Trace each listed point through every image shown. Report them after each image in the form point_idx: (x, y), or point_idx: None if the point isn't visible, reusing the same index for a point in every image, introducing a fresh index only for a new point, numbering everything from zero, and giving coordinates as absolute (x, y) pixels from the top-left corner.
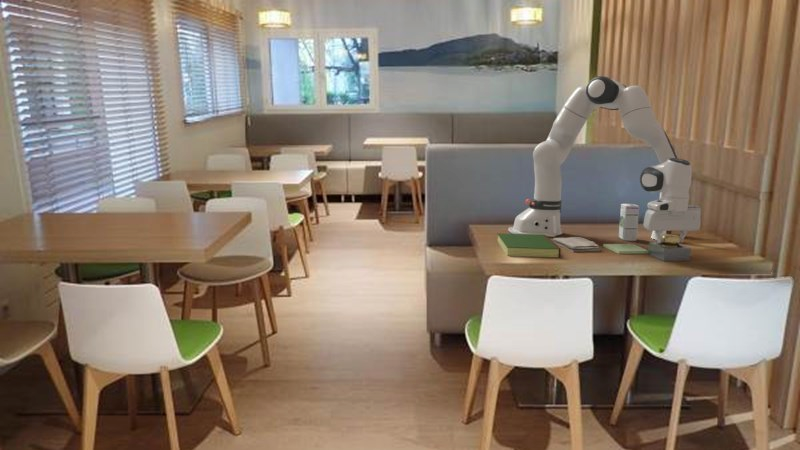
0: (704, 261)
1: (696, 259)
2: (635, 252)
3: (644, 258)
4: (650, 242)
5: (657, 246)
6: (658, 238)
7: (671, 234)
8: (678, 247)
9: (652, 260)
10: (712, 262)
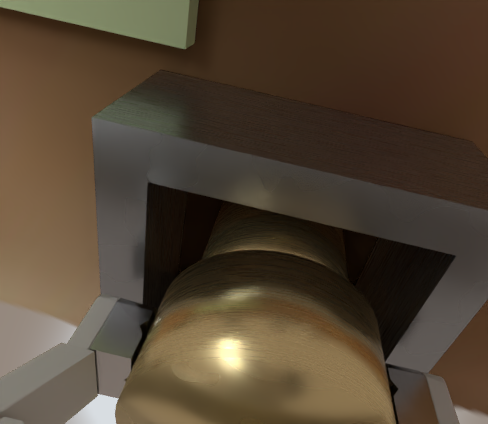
0: (453, 378)
1: (462, 334)
2: (14, 3)
3: (37, 195)
4: (104, 137)
5: (106, 283)
6: (76, 345)
7: (367, 414)
8: (391, 319)
9: (73, 255)
10: (478, 405)
